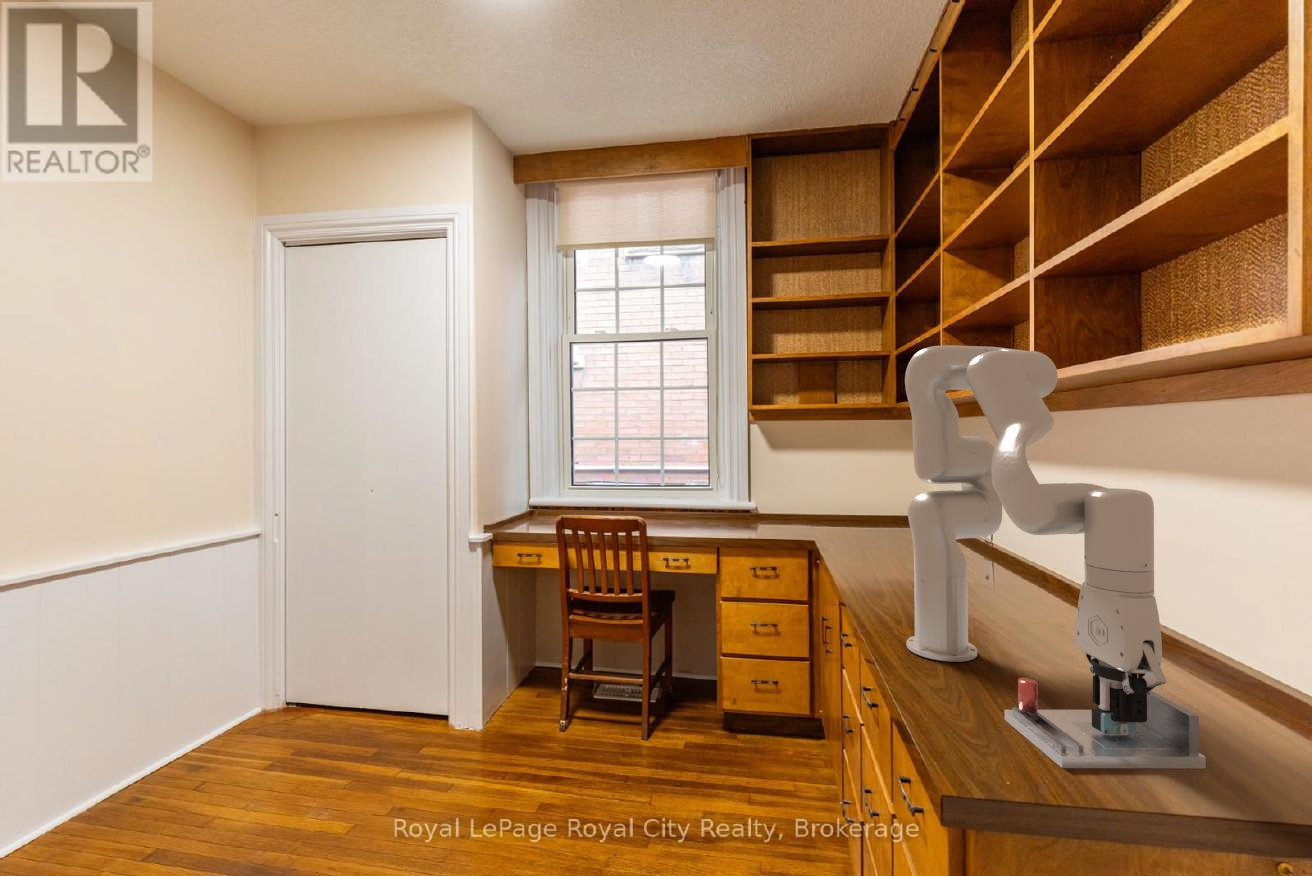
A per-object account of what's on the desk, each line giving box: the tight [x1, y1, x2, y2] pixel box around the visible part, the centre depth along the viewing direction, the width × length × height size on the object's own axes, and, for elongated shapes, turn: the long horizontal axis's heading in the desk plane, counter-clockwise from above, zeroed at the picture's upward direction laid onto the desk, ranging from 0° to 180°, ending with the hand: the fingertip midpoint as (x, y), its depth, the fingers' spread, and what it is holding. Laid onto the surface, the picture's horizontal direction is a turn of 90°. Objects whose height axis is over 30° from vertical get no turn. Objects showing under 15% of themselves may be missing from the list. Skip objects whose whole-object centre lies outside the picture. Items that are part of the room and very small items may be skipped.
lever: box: [1017, 677, 1039, 720], centre depth 86 cm, size 3×2×5 cm
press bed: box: [1004, 690, 1207, 770], centre depth 82 cm, size 13×18×6 cm
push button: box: [1089, 658, 1144, 735], centre depth 81 cm, size 7×5×10 cm
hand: (1119, 711), depth 81 cm, fingers closed on push button, 4 cm apart
